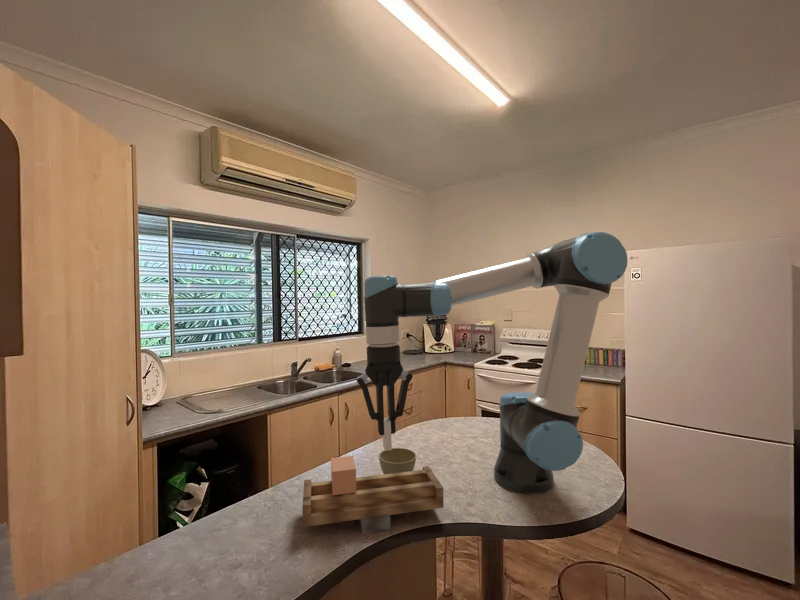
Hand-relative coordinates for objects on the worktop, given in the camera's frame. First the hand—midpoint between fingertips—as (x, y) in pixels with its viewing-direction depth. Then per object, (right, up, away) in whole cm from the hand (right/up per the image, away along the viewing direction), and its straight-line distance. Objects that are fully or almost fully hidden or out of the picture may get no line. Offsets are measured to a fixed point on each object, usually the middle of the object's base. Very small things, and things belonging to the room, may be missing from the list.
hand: (387, 448), depth 86 cm
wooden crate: (-3, -15, 0) cm, 16 cm away
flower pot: (+2, -15, +16) cm, 22 cm away
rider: (-10, -10, -2) cm, 14 cm away
